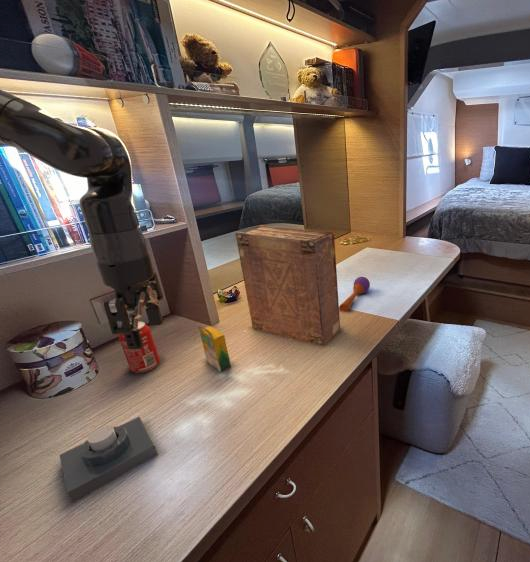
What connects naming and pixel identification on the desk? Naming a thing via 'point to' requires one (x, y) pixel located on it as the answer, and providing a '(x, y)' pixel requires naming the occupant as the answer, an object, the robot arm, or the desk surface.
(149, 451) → the button base
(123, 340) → the beverage can
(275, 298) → the brown wooden chest
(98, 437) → the white button cap
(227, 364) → the crayon box
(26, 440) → the desk surface
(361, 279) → the purple and orange maraca
